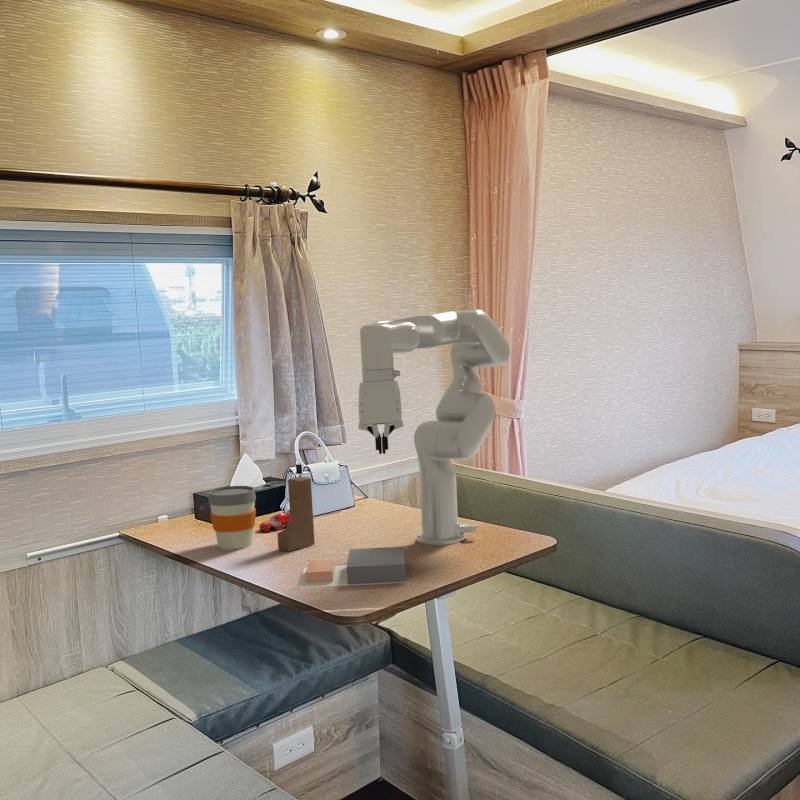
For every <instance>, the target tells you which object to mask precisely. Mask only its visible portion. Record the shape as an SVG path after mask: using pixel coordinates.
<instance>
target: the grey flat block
mask: <svg viewBox="0 0 800 800" xmlns="http://www.w3.org/2000/svg"><path fill="white" fill-rule="evenodd" d="M348 550H349V551H348V557H347V563H346V565H347V581H348V585H349V586H351V585H350V584H369V585H371V584H370V583H388V584H390V583H389V582H406V583H407V578H406V577H407V576H406V574H407V572H406V557H405V547H404V546H389V547H373V548H372V547H367V548H351V549H350V548H349V549H348Z"/></svg>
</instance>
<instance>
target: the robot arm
mask: <svg viewBox="0 0 800 800" xmlns="http://www.w3.org/2000/svg"><path fill="white" fill-rule="evenodd" d="M359 339H360V340H359V341H360V342H359V343H360V354H361V374H362V382H359V387H358V418H359V422H358V423H359V424H358V427H357V428H358V430H360V431H362V430H363V431H368V432H369V433H370V434H371V435H372V436H373V437H374V441H375V450H376V451H378V454H379V455H381V454H385V455H386V451H388V450H389V435H390V434H392V432H394V430H398V429H400V428H403V427H404V421H403V419H402V417H403V416H402V411H403V410H402V401H401V392H400V386H399V382H398V380H395V378H397V377H400V376H401V371H400V370H397V369H395V366H394V365H395V364H394V354H407V353H411V352H412V351H415V350H416V349H431V348H436V347H437V348H438V347H441V346H445V345H451V348H450V358H451V359H450V360H451V365H452V366H451V367H452V375H453V378H452V380H451V382H450V384H449V385H448V388H447V389H446V390H445V393H444V394H443V396H442V397H441V399H440V401H439V403H438V405H437V407H436V410H435V417H436V420H428V421H424V422H422V423H420V424H419V425H417V427H416V429H415V430H414V435H413V441H414V442H413V443H414V447H415V452H416V456H417V460H418V468H419V470H418V471H419V472H418V473H419V487H420V489H419V491H420V512H421V513H420V514H421V532H419V533H418V534H417V535H416V541H417V542H418V543H420V544H422V545H427V546H428V545H429V546H448V545H449V546H450V545H453V544H459V543H461V542H463V541H464V540H465V533H477V532H476V531H477V527H476V526H477V525H476V524H471V523H464V524H463V523H460V521H459V518H458V517H459V516H458V498H457V497H458V495H457V473H456V469H455V467H454V464H453V463H452V461H451V459H453V460H469V459H471V458H473V457H474V456H475V455H476V454H478V451H479V450H480V448H481V446H482V444H483V443H484V440H485V439H486V437H487V436H488V433H489V432H490V430H491V428H492V426H493V424H494V420H495V417H496V405H495V402H494V400H493V398H492V397H491V396H489V394H486V393H482V390H483V387H482V386H483V385H482V380H480V377H479V376H478V375H477V373H476V370H475V369H476V368H498V367H502V366H504V365H505V364H506V363H507V362H508V360H509V358H510V354H511V353H510V351H511V350H510V345H509V343H508V342H509V341H508V340H507V338H506V337H505V335H504V334H503V333H502V331H501V330H500V328H499V327H498V325H497V324H496V323H495V321H494V320H493V319H492V318H491V317H490V315H488V314H487V313H486V312H484V311H483V310H481V309H469V310H467V309H466V310H451V311H450V310H449V311H442V312H436V313H429V314H424V315H423V314H422V315H415V316H411V317H405V318H399V319H392V320H383V321H378V322H372V323H370V324H365V325H362V326H361V327H360V330H359ZM379 425H384V426H383V433H382V436H381V433H380V432H379V427H378V426H379ZM462 540H463V541H462ZM458 542H459V543H458Z"/></svg>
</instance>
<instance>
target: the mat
mask: <svg viewBox="0 0 800 800" xmlns="http://www.w3.org/2000/svg"><path fill="white" fill-rule="evenodd" d="M306 570H307V566H305V567H303V570H302V574H301V577H300V581H299V584H298V587H297V588H298V589H307V588H324V587H325V588H327V587H344V586H346V587H347V586H362V585H363V586H364V585H382V584H383V585H386V584H387V585H388V584H405V583H407V581H406V582H389V583H370V584H350V585H348V581H347V564H345V565H343V564H341V565H335V573H334V579H333V582H322V583H306Z"/></svg>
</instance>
